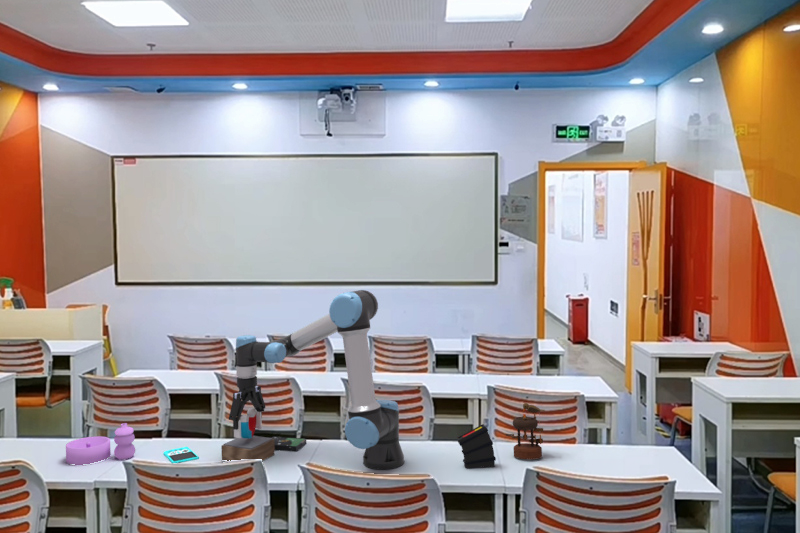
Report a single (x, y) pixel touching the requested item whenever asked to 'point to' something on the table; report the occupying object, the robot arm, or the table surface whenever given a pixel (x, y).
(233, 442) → the walnut stand
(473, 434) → the magazine
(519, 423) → the music box
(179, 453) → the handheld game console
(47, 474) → the table surface
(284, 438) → the disk drive
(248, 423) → the magnet
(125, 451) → the container set
